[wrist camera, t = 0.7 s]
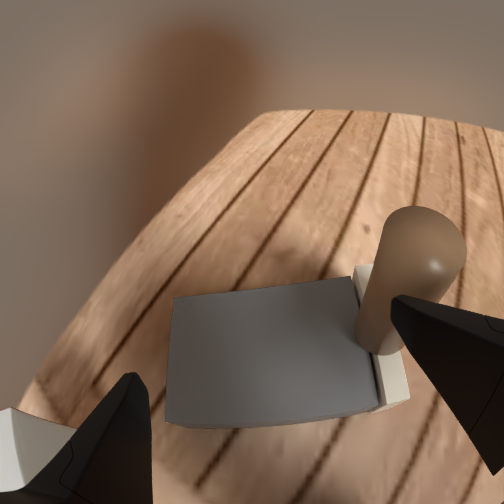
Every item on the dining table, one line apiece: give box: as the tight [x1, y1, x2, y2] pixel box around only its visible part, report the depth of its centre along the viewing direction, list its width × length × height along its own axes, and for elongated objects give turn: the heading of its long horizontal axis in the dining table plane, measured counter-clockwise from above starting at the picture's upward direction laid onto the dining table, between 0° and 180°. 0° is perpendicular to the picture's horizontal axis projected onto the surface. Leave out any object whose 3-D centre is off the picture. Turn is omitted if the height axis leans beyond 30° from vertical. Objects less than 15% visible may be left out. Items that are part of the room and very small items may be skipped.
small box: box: [0, 407, 77, 492], centre depth 12 cm, size 8×6×13 cm
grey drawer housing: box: [165, 276, 378, 428], centre depth 21 cm, size 14×10×4 cm
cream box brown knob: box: [352, 206, 467, 414], centre depth 16 cm, size 16×10×14 cm, turn 93°
